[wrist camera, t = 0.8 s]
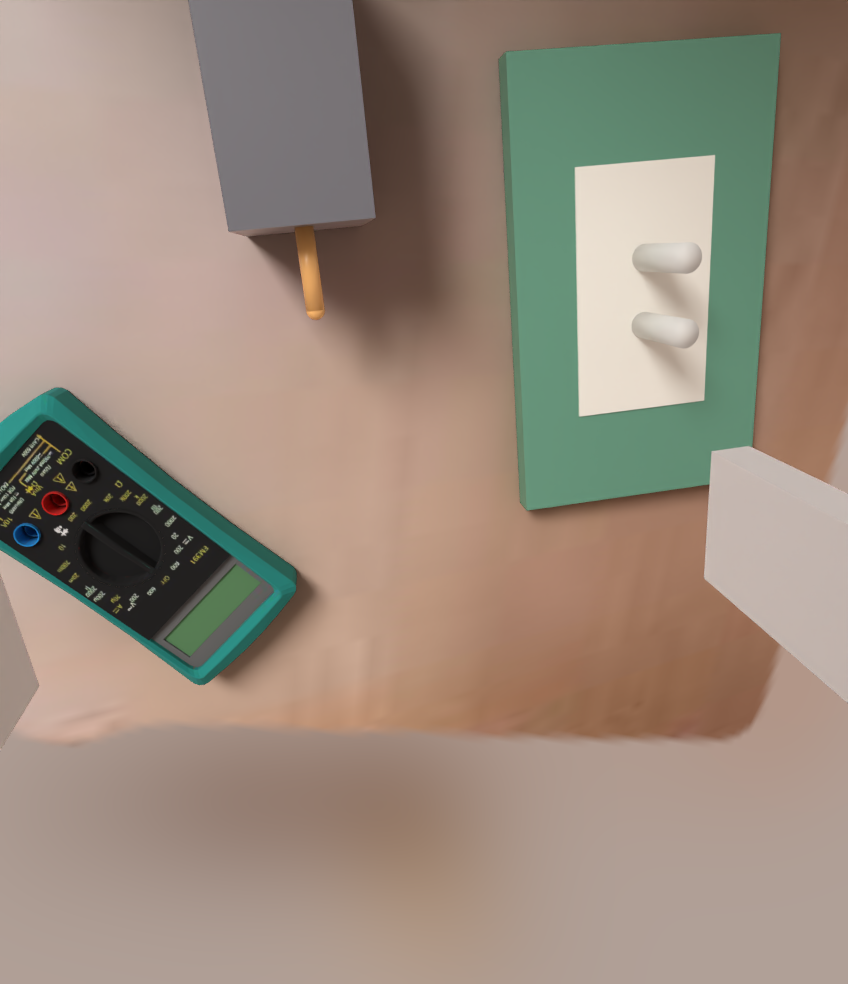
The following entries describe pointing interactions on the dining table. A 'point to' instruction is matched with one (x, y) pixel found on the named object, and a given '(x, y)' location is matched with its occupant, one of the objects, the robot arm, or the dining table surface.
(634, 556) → the dining table surface
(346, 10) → the block
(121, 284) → the dining table surface
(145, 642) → the digital multimeter
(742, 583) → the robot arm
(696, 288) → the board
